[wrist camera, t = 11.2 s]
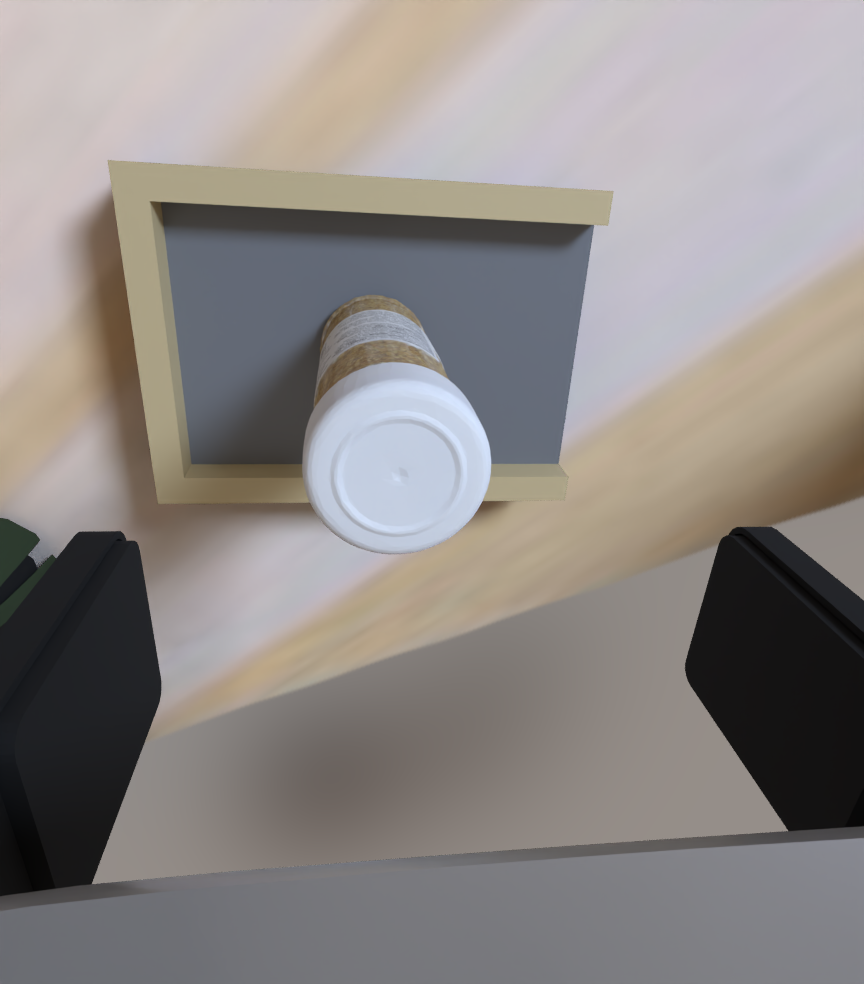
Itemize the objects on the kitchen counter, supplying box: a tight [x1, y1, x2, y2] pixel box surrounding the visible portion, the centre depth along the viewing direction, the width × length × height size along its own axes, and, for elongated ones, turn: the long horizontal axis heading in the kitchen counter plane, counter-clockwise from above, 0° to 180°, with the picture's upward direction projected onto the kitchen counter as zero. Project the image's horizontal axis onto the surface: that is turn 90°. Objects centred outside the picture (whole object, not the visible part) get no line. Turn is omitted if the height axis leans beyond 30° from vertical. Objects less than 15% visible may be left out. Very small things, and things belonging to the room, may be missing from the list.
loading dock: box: [108, 160, 613, 504], centre depth 27 cm, size 18×13×4 cm
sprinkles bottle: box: [302, 295, 491, 554], centre depth 21 cm, size 5×5×13 cm
